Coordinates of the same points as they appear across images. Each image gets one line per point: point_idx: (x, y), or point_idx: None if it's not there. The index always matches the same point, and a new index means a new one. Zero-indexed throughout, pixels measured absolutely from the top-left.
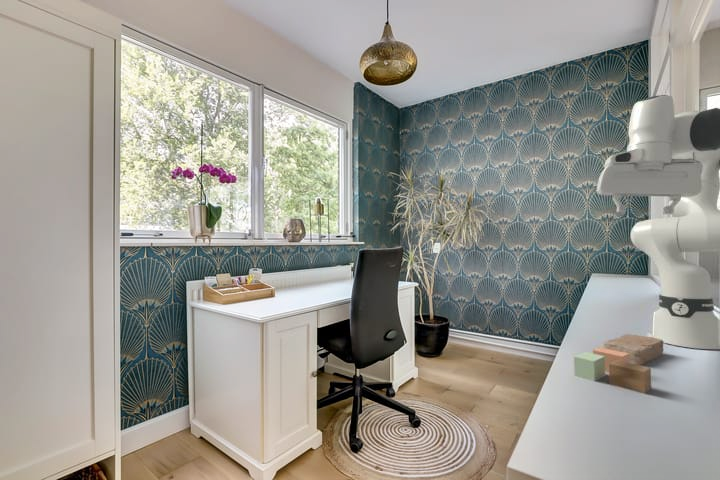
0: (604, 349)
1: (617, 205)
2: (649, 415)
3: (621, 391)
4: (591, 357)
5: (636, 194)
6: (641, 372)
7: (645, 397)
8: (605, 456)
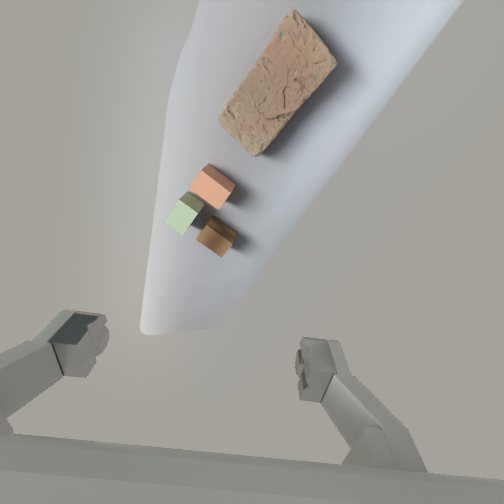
0: (204, 180)
1: (35, 349)
2: (214, 281)
3: None
4: (182, 221)
5: (97, 464)
6: (220, 255)
7: None
8: (176, 322)
